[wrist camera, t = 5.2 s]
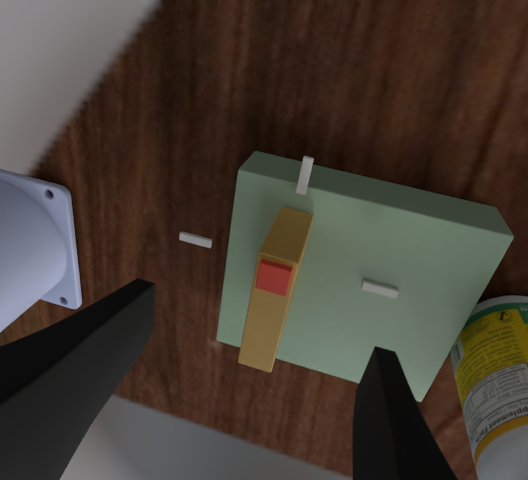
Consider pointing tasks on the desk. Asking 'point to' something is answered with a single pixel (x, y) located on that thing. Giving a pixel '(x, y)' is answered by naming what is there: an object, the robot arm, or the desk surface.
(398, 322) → the lock plate
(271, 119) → the desk surface
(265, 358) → the block
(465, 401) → the supplement bottle
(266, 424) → the desk surface
